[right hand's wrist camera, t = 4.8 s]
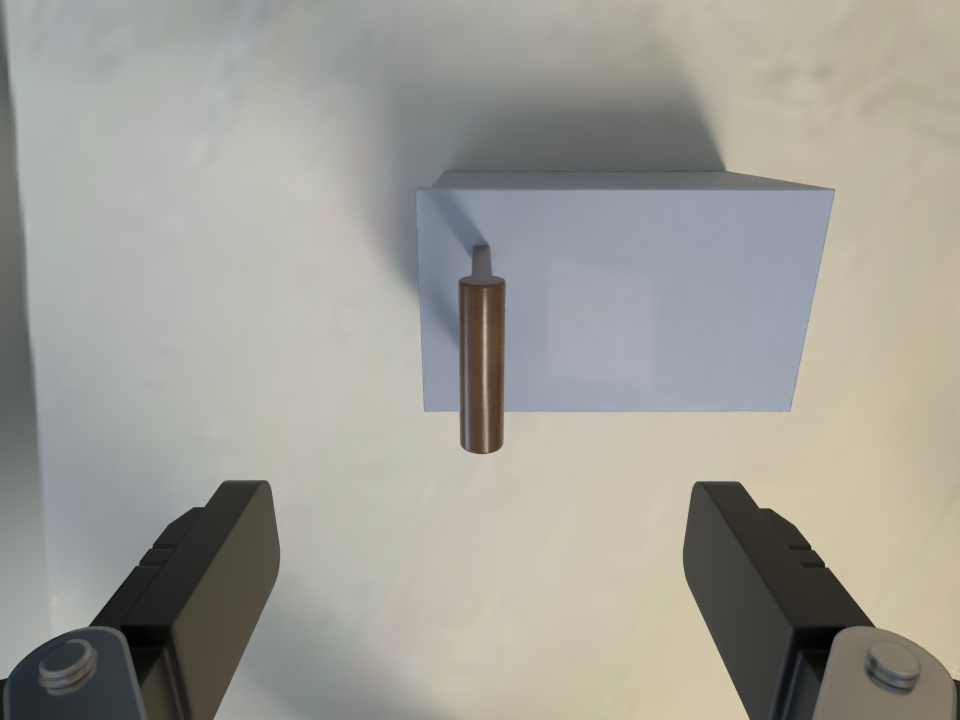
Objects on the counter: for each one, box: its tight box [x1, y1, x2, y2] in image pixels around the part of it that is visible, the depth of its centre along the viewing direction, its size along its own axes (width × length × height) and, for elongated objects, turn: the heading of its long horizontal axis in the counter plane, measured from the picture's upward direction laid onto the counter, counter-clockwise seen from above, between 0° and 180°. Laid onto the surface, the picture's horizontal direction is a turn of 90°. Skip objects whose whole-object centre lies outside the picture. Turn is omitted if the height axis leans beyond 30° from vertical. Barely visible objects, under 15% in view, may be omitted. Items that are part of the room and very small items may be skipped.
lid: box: [416, 187, 835, 454], centre depth 22 cm, size 16×10×8 cm, turn 90°
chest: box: [432, 171, 818, 187], centre depth 31 cm, size 16×10×10 cm, turn 90°
